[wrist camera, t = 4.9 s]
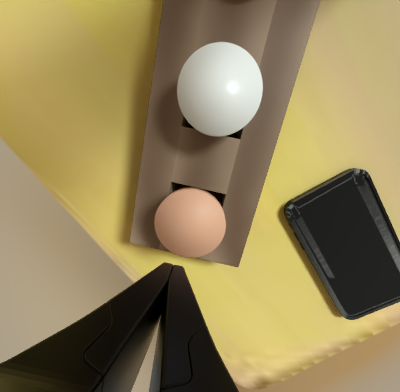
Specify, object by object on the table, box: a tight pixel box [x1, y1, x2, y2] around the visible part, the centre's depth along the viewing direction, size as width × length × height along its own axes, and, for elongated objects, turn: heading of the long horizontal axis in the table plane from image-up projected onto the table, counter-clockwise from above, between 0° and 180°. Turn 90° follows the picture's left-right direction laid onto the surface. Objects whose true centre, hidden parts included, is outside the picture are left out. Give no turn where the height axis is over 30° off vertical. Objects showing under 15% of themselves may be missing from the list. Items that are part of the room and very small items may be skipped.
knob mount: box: [130, 0, 320, 267], centre depth 16 cm, size 10×26×3 cm, turn 168°
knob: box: [154, 187, 226, 258], centre depth 16 cm, size 5×5×4 cm
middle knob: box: [177, 42, 263, 137], centre depth 14 cm, size 5×5×4 cm
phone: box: [284, 168, 400, 320], centre depth 20 cm, size 8×1×15 cm
